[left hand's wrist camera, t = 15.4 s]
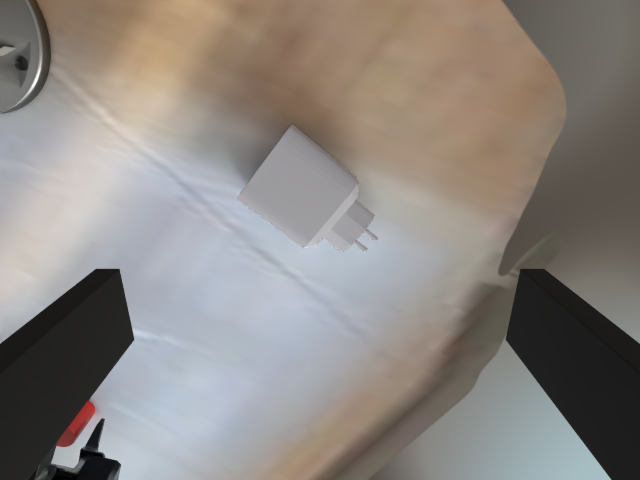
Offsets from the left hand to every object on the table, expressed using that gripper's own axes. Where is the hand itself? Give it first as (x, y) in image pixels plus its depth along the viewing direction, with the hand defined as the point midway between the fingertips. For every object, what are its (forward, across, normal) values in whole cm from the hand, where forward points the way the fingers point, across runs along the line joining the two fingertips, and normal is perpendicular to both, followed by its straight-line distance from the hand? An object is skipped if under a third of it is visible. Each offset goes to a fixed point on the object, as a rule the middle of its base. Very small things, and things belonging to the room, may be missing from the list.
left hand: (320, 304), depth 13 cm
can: (+31, -34, -36) cm, 58 cm away
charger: (+31, 0, -5) cm, 32 cm away
